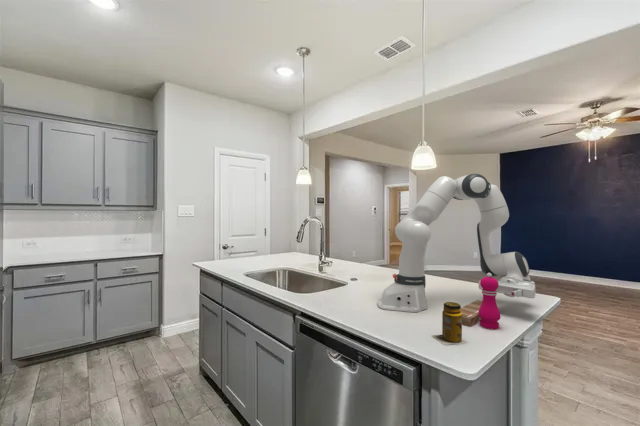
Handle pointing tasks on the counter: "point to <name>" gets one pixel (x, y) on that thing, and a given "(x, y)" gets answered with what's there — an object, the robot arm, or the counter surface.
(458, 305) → the condiment
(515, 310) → the counter surface
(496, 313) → the pepper mill
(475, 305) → the board
